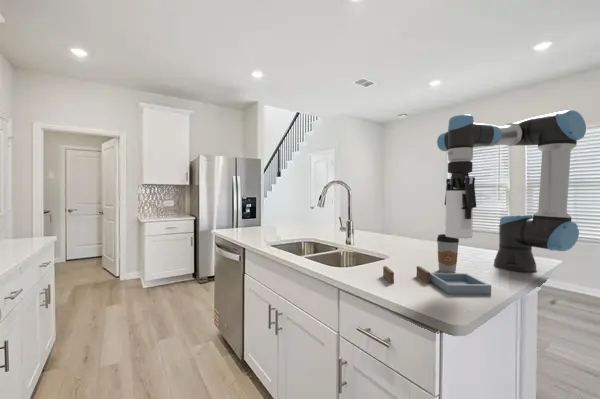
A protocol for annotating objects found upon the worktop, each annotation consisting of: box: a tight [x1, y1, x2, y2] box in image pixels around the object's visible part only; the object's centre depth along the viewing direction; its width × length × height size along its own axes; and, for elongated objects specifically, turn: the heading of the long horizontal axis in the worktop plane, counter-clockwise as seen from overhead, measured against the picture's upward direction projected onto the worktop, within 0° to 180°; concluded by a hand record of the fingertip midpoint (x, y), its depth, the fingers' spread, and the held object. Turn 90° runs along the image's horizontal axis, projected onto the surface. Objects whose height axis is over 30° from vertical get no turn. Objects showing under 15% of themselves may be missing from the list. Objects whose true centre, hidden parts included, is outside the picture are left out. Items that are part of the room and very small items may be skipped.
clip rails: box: [382, 265, 431, 284], centre depth 112 cm, size 14×9×4 cm, turn 91°
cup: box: [444, 190, 474, 240], centre depth 103 cm, size 8×8×16 cm
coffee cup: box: [436, 233, 460, 273], centre depth 124 cm, size 8×8×15 cm
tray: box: [430, 272, 492, 296], centre depth 104 cm, size 14×14×3 cm
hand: (458, 227), depth 103 cm, fingers closed on cup, 8 cm apart
